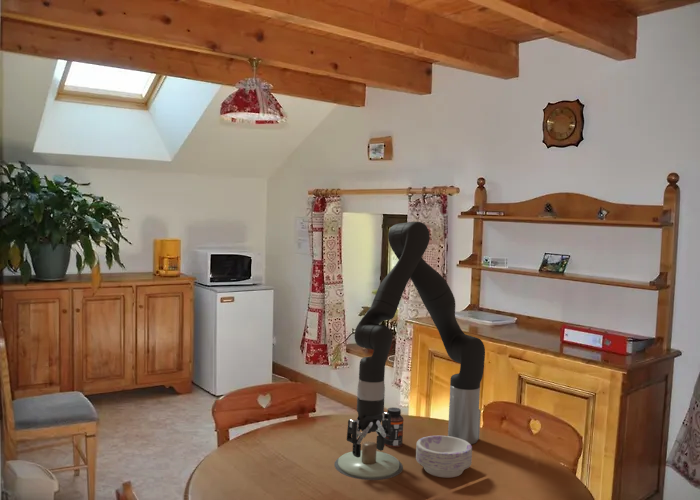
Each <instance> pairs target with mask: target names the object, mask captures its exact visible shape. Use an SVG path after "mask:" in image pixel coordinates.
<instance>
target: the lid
mask: <svg viewBox="0 0 700 500" xmlns="http://www.w3.org/2000/svg"><path fill="white" fill-rule="evenodd" d="M338 458H339V459H338ZM338 458H337V459H338V467H339V468H340V469H341V470H342V471H343V472H345V473H347V474H349V475H352V476H356V477H361V478H383V477H387V476H391V475H393V474H395V473H396V472H397V471H398V470H399V462H400V460H399V459H398V458H397V457H395V455H392V454H389V453H387V452H383V451H380V450H378V449H377V442H374V441H370V440H369V441H368V440H367V441H364V442H362V444H361V456H360V457H358V458H357V457H355V456H354V455H353V453H352V451H349V452H345V453H344V454H342V455H341V456H340V457H338Z"/></svg>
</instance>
